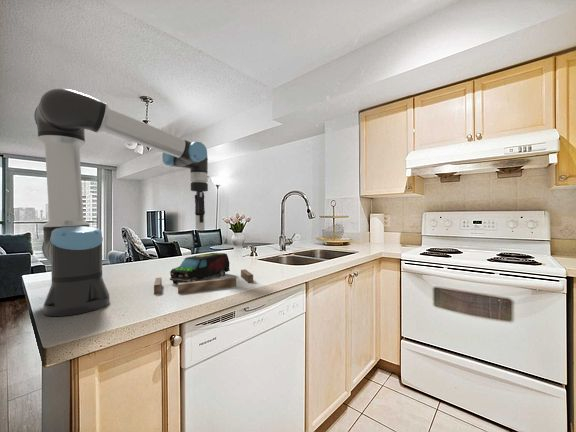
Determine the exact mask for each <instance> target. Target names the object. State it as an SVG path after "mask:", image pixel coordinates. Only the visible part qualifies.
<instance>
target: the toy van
mask: <svg viewBox="0 0 576 432" xmlns="http://www.w3.org/2000/svg"><path fill="white" fill-rule="evenodd" d="M227 272H230V259H229V256H228V254H227V253H223V252H209V253H203V254H202V253H201V254H196V255H193V256H189V257H188V256H187V257H185V258H184V259H183V261H181V264H180V265H179V266H177V267H175V268H172V269H171V270H170V271H169V273H170V277H169V281H172V284H178V283H186V282H195V281H202V280H204V279H207V278H210V277H215V276H217V277H218V278H222V277H224V276H226V273H227Z"/></svg>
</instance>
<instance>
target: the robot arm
mask: <svg viewBox="0 0 576 432" xmlns="http://www.w3.org/2000/svg"><path fill="white" fill-rule="evenodd" d="M33 118H34V122H35V124H36V126H37V139H38V140H39V141H40V142H41V143H42V144H44V150H45V165H46V166H45V167H46V186H47V201H48V203H47V205H48V219H49V220H48V221H47V222H46V223H45V224H44V225H43V226H42V230H43V242H42V246H41V252H42V255H43V256H44V258H45V259H46V260H47V261H48V262H49V263H51V264H50V265H51V266H50V267H51V268H50V269H51V286H50V287H49V289H48V292H47V295H46V298H45V301H44V303H43V308H42V309H43V311H42V312H43V315H44V316H48V317H65V316H66V317H67V316H73V315H78V314H85V313H88V312H89V313H90V312H92V311H95V310H99V309H101V308H103V307H106V306H107V305H108V304H110V299H111V297H110V293H109V291H108V288H107V286H106V283H105V281H104V278H103V242H104V241H103V239H104V238H103V235H102V234H103V233H102V231H101V229H100V228H98V227H95V226H94V227H93V226H90V223H89V222H88V221H86V220H85V219H84V206H83V205H84V204H83V203H84V202H83V189H82V188H83V186H82V185H83V184H82V183H83V182H82V170H81V169H82V165H81V151H80V149H81V147H83V146H84V145H85V144H86V139H85V138H86V136H85V130H87V131H88V130H89V131H92V132H94V133H101V132H103V133H107V134H110V135H112V136H115V137H118V138H121V139H123V140H126V141H129V142H133V143H135V144H138V145H140V146H142V147H143V146H144V147H147V148H149V149H152V150H155V151H158V152H160V153H162V154H161V155H162V157H161V158H162V162H163V164H164V165H165V166H169V167H174V168H184V169H189V171H190V191H191V192H196V193H195V195H194V204H195V206H194V207H195V209H194V215H195V230H197V231H205V213H206V210H205V193H204V192H208V191H209V186H208V185H209V184H208V179H209V178H210V176H209V175H208V166H209V165H208V163H209V162H208V160H209V159H208V149H207V147H206V145H205V144H204V143H202V142H200V141H188V140H186V139H184V138H181V137H179V136H177V135H175V134H172V133H169V132H167V131H165V130H163V129H160V128H158V127H155V126H153V125H150V124H148V123H145V122H144V121H141V120H138V119H136V118H134V117H132V116H129V115H127V114H124V113H121V111H120V112H119V111H117V110H115V109H112V108H110V107H109V105H108V103H106V102H104V101H102V100H99V99H98V98H95V97H92V96H90V95H88V94H84V93H82V92H78V91H76V90H72V89H67V88H53V89H50V90H47V91H46V92H45V93H44V94H43V95H41V97H40V100H39V103H38V104H37V106H36V107H35V111H34V115H33Z"/></svg>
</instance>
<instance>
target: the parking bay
mask: <svg viewBox="0 0 576 432" xmlns="http://www.w3.org/2000/svg"><path fill="white" fill-rule="evenodd" d="M240 277H241V278H242V279H243V280H245V282H247V283H248V284H251V283H253V284H254V274H253V273H251V272H250V271H249V270H247V269H241V270H240ZM162 282H163V281H162V277H161V276H160V277H155V279H154V284H153V294H154V295H157V294H161V292H162V285H163V283H162ZM234 287H236V288H237V278H236V277H226V278H217V279H216V278H215V279H208V280H207V279H206V280H198V281H195V282H183V283H182V282H179V283H177V294H184V293H185V294H186V293H194V292H202V291H210V290H216V289H217V290H219V289H227V288H234Z"/></svg>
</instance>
